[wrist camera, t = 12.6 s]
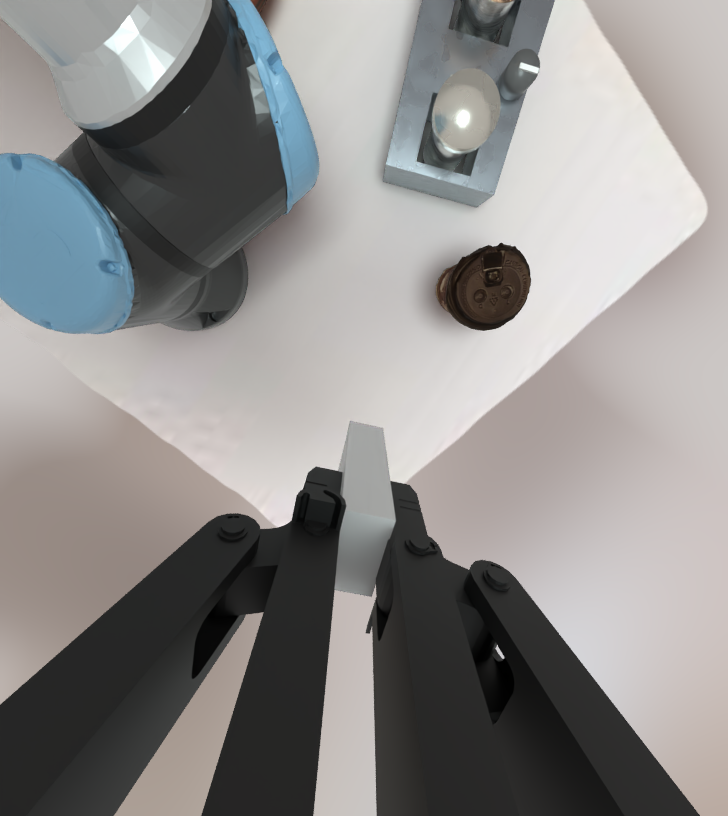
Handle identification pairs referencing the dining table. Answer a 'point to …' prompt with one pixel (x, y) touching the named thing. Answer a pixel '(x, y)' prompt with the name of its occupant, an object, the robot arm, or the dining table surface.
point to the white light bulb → (461, 117)
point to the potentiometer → (519, 74)
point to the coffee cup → (485, 287)
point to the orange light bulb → (482, 17)
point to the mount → (426, 73)
